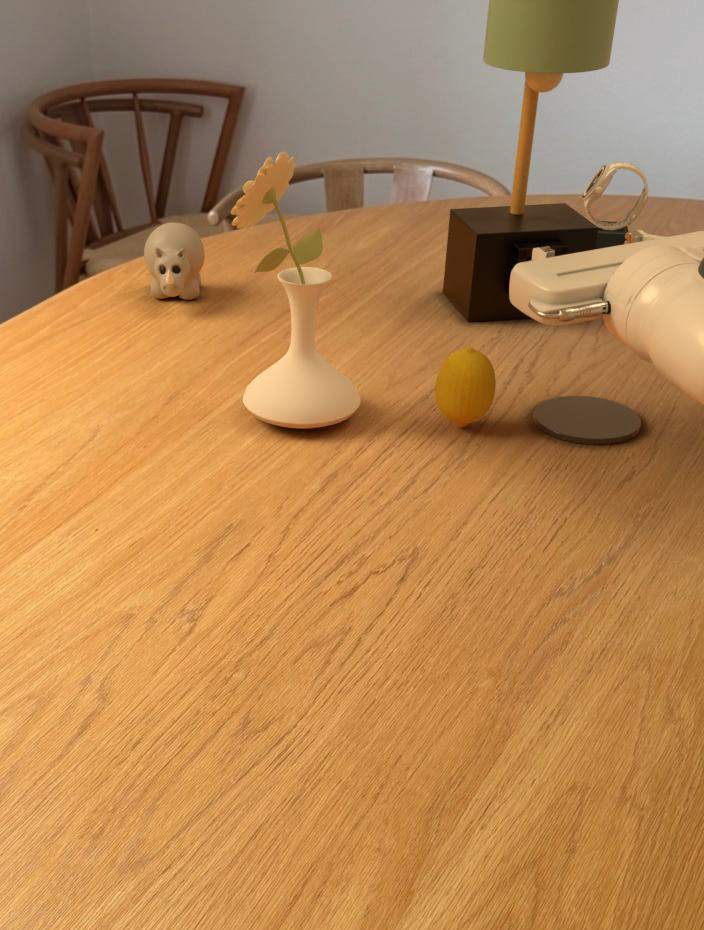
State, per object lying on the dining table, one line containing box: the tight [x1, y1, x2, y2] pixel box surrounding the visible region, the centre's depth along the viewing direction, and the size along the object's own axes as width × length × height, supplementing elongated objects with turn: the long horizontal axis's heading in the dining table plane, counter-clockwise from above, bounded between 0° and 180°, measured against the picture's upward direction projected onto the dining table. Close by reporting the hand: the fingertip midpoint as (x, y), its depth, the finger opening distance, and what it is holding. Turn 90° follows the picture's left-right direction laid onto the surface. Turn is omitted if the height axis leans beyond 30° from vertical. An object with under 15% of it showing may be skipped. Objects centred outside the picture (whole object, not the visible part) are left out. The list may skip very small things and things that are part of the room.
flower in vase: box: [230, 151, 362, 430], centre depth 115 cm, size 13×11×25 cm
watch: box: [581, 161, 649, 249], centre depth 161 cm, size 6×8×11 cm
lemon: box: [434, 346, 497, 429], centre depth 118 cm, size 6×6×8 cm
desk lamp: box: [442, 0, 620, 323], centre depth 138 cm, size 13×14×34 cm
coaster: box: [532, 395, 642, 446], centre depth 121 cm, size 10×10×1 cm
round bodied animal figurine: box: [143, 221, 206, 301], centre depth 147 cm, size 7×12×8 cm, turn 176°
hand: (585, 246), depth 120 cm, fingers open, 8 cm apart
